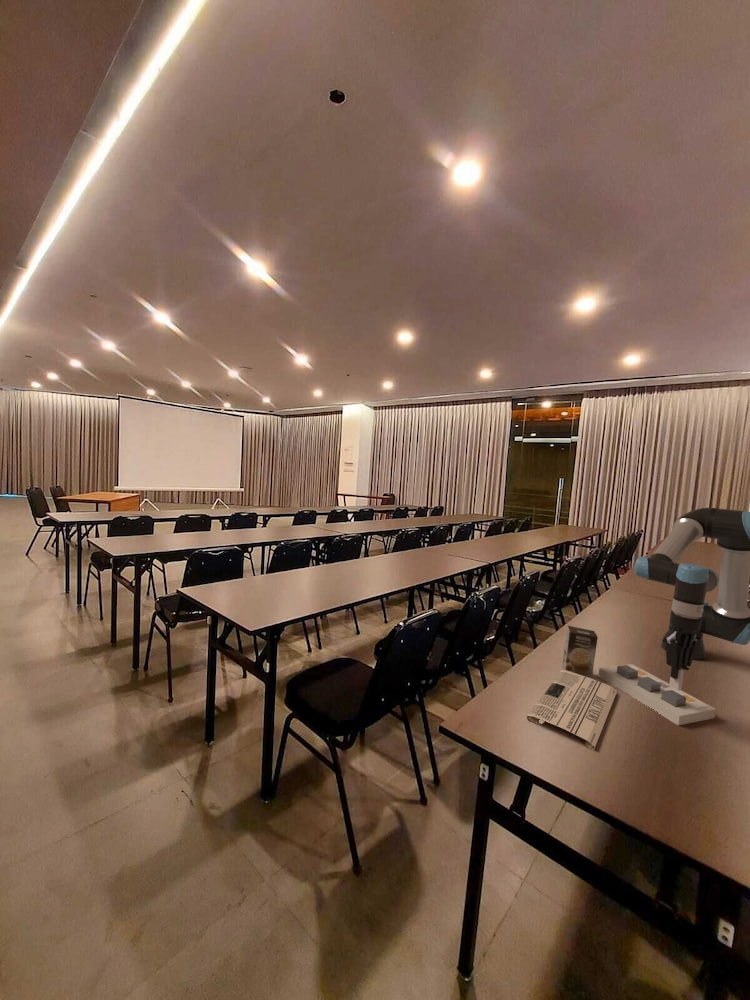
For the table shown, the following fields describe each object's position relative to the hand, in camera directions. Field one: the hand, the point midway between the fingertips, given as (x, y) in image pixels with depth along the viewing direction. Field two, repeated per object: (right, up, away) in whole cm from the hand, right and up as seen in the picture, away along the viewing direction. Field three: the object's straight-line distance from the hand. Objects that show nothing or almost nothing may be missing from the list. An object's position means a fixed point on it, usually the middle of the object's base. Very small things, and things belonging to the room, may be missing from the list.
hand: (675, 687), depth 125 cm
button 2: (0, -6, +1) cm, 6 cm away
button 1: (-5, -4, +16) cm, 17 cm away
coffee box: (-21, -5, +20) cm, 29 cm away
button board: (-1, -7, +9) cm, 11 cm away
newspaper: (-31, -6, -1) cm, 32 cm away
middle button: (-3, -5, +8) cm, 10 cm away
